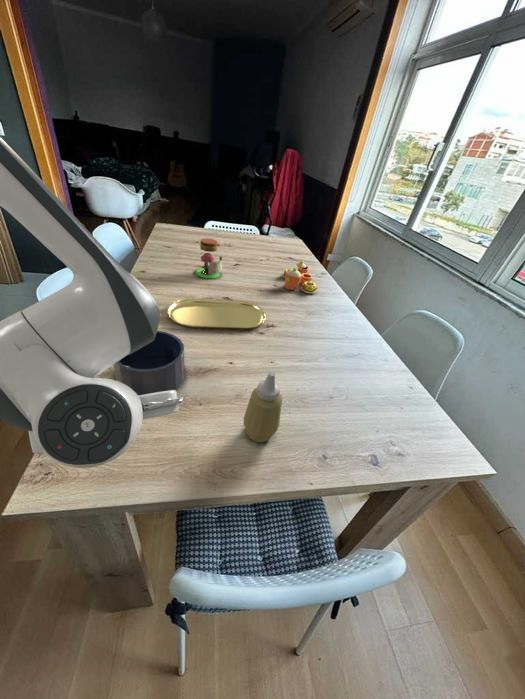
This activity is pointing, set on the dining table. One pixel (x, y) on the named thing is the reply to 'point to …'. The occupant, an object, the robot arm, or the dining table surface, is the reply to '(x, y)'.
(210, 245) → the mushroom terrarium jar
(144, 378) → the pot
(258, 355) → the dining table surface
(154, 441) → the dining table surface
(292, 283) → the toy tea set
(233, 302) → the serving platter
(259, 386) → the squeeze bottle
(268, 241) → the dining table surface
